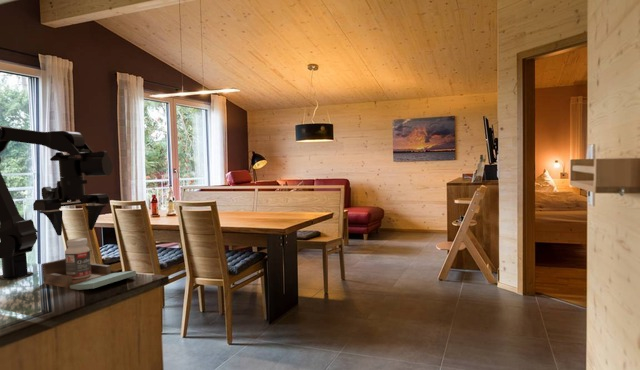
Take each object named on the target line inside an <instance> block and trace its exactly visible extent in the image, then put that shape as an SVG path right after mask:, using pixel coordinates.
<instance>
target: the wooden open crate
mask: <svg viewBox="0 0 640 370" xmlns="http://www.w3.org/2000/svg"><path fill="white" fill-rule="evenodd" d="M41 267H42V279H43V280H42V281H43V282H42V283H43V285H49V286H55V287H59V288H61V287H62V288H66V289H69V288H70V286H71V285H74V284H77V283H81V282H84V281H88V280H91V279H95V278H98V277H102V276H105V275H109V274H112V268H111V267H112V266H111V265H109V264H100V263H92V262H91V275H90V276H89V277H86V278H82V279H75V280H72V276H68V275H66V261H65V258H61V259H57V260H53V261H47V262H43V263H41Z"/></svg>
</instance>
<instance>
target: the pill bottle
mask: <svg viewBox="0 0 640 370" xmlns="http://www.w3.org/2000/svg"><path fill="white" fill-rule="evenodd" d="M87 245H88V238H86V237H79V238H71V239H68V240H66V246H67V248H66V249H65V251H64V257H65V258H64V259H65V261H66V275H68V276H72V280H75V279H82V278H86V277H89V276H90V275H91V263H92V262H91V261H92V260H91V250H90V247H89V246H87Z"/></svg>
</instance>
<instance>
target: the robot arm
mask: <svg viewBox="0 0 640 370" xmlns="http://www.w3.org/2000/svg"><path fill="white" fill-rule="evenodd" d="M10 142H17V143H23V144H32V145H39V146H43V147H47V148H48V149H50V150H54V151H57V152H55V154H54V155H53V156H52V157H51V158H50V161H51V162H58V168H59V169H58V170H59V180H56V181H57V182H56V187H51V186H44V187H41V197H42V198H40V199H35V200H34V202H33V204H32V206H33V208H32V209H33V211H34V212H35V211H36V212H37V211H38V213H39V214H43V215H45V216H46V217H47V218H48V221H49V222H50V223H51V226H52V227H53V230H54V232H55V234H56V235H57V236H59V237H60V236H62V233H63V210H59V209H60V208H61V207H69V206H75V205H76V206H77V205H84V207H85V209H86V211H87V224H88V229H89V231H92V230H94V228H95V225H96V223H97V221H98V218H99V216H100V215H101V213H102V211H103V209H104V208H106V207H107V205H106V204H110V202H111V201H110V200H111V199H110V197H109V195H108V194H107V193H92V194H85V192H86V190H85V189H86V188H85V184H88V180H87V179H85V176H86V177H104V176H107V177H108V176H110V175H111V174H112V172H113V169H114V167H113V166H114V164H113V162H112V159H111V157H110V155H109V152H108V151H107V150H102V151H101V150H100V151H96V152H95V151H94V150H92V149H91V147H90V146H89V145H88V144H87V143H86V141H85V137H84V136H83V134H82V133H81V132H78V131H67V130H56V131H55V130H54V131H53V130H52V131H39V130H31V129H23V128H16V127H11V126H9V125H8V126H7V125H0V154H1V153H2V152H3V151H5V150H6V149H7V146H8V145H9V143H10ZM65 153H67V154H65ZM77 156H80V157H77ZM1 162H2V158H1V157H0V164H1ZM38 232H39V231H38V230H37V228H36V227H35V225H34V221H33V219H24V218H23V216H21V214H20V212H19V210H18V208H17V205H16V203H15V201H14V199H13V196H12V194H11V191H10V190H9V188H8V185H7V183H6V181H5V179H4V176H3V175H2V172H1V171H0V260H1V271H2V274H1V275H0V279H1V280H7V281H11V280H17V279H20V278H23V277H28V276H29V277H30V276H32V275H34V272H33V271H32V272H31V271H29V270H28V259H27V253H31V252H32V251H33V248H34V245H35V244H36V243H37V240H38V234H37V233H38Z"/></svg>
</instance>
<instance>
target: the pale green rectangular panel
mask: <svg viewBox="0 0 640 370" xmlns="http://www.w3.org/2000/svg"><path fill="white" fill-rule="evenodd" d="M135 276H137V270H128V271H121V272H113V273H112V272H111V274H109V275H105V276H102V277H98V278H95V279H91V280H88V281H84V282H81V283H77V284H74V285H71V286H70V287H69V288H70V289H72V290H79V291H80V290H89V289H90V290H92V289H96V288H100V287H103V286H106V285H108V284H113V283H115V282H119V281H122V280H125V279H128V278H132V277H135Z"/></svg>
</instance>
